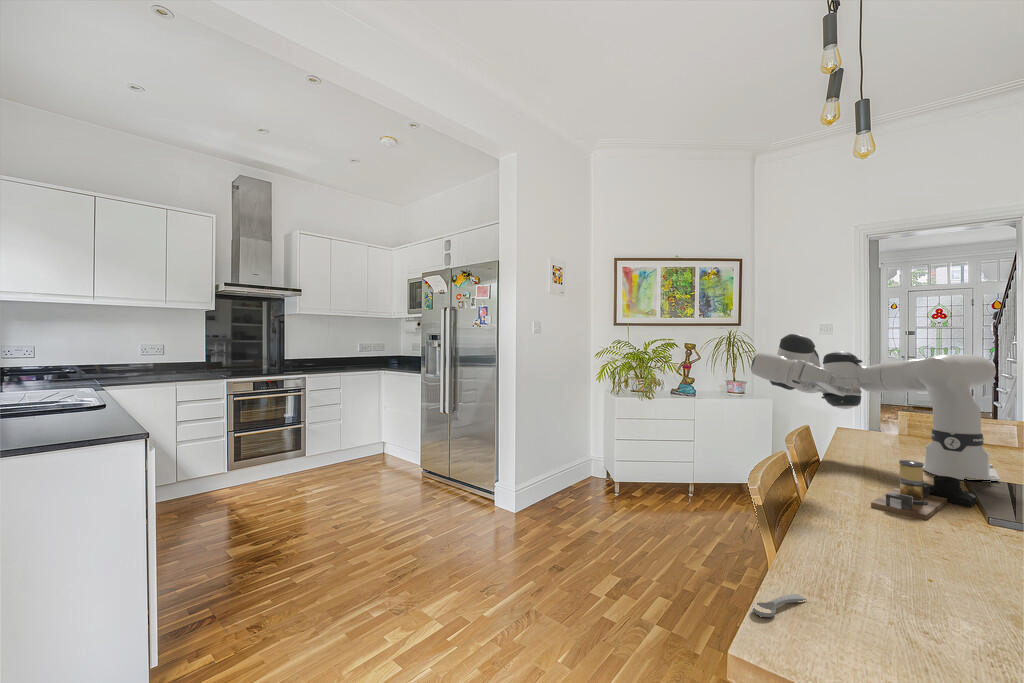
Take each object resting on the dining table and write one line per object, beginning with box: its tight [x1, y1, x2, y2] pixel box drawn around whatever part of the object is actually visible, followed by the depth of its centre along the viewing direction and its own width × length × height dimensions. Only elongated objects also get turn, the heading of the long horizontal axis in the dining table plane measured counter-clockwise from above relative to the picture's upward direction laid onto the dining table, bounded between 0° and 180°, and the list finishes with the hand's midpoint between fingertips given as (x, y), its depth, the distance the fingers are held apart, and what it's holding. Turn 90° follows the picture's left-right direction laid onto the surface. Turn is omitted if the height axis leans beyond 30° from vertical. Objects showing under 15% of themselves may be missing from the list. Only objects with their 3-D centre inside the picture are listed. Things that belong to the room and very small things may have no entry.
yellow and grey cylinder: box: [898, 459, 925, 503], centre depth 119 cm, size 5×5×10 cm
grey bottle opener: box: [751, 593, 807, 618], centre depth 74 cm, size 3×12×2 cm, turn 116°
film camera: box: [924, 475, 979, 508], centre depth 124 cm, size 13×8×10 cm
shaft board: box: [870, 483, 948, 521], centre depth 120 cm, size 20×11×4 cm, turn 126°
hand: (856, 389), depth 130 cm, fingers open, 8 cm apart
